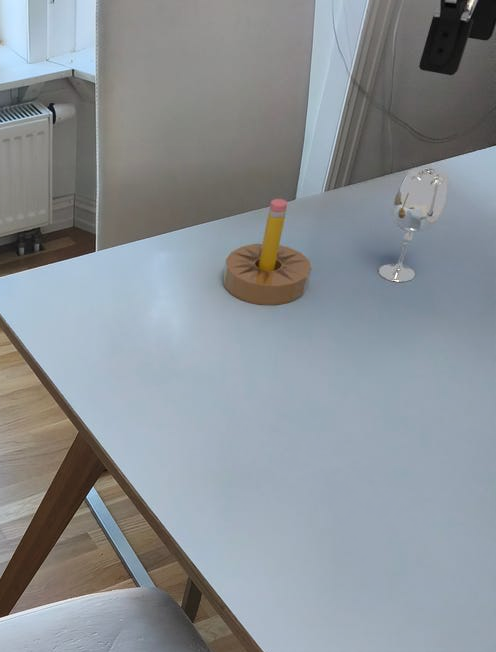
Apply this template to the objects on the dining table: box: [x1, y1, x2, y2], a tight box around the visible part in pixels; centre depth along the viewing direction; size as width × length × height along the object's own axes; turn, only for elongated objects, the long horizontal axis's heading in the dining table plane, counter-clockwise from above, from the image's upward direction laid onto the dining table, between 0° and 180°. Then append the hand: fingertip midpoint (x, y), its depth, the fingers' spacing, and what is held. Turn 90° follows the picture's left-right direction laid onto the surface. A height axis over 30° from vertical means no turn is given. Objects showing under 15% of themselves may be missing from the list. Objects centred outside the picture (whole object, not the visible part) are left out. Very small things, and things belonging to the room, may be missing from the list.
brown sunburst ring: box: [222, 243, 312, 306], centre depth 112 cm, size 10×10×3 cm
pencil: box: [258, 198, 288, 271], centre depth 109 cm, size 2×2×10 cm
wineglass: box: [378, 167, 449, 283], centre depth 108 cm, size 6×6×12 cm
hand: (455, 53), depth 79 cm, fingers open, 9 cm apart
